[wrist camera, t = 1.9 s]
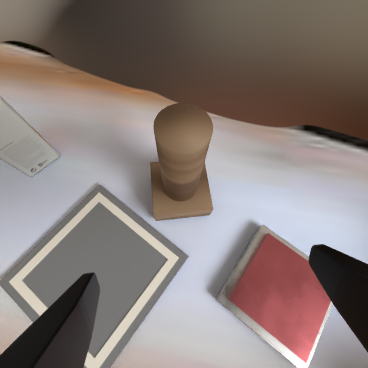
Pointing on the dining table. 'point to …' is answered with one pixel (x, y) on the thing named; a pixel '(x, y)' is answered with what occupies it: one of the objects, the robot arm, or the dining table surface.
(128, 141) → the dining table surface
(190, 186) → the walnut stamp
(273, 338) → the ink pad
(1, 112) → the skincare box
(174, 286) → the dining table surface
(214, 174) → the dining table surface
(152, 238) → the marked board
